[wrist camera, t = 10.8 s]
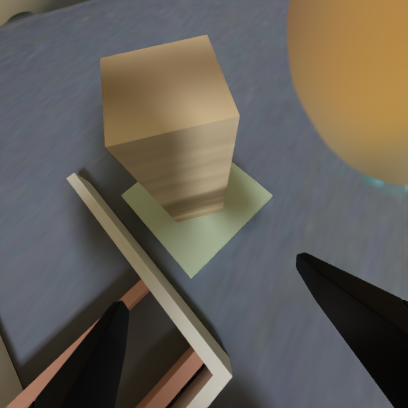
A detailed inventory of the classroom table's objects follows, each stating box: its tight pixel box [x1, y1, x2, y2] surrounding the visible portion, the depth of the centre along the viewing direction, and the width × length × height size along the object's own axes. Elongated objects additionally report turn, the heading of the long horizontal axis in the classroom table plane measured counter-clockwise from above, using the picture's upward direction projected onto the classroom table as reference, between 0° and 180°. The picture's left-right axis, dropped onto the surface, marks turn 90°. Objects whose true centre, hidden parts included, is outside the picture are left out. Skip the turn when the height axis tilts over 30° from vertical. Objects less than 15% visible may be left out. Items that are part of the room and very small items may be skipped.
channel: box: [0, 173, 233, 408], centre depth 15 cm, size 24×16×2 cm, turn 44°
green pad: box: [121, 162, 273, 279], centre depth 19 cm, size 12×12×1 cm
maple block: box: [100, 35, 240, 222], centre depth 13 cm, size 5×5×12 cm
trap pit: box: [6, 279, 204, 408], centre depth 14 cm, size 8×14×2 cm, turn 134°
